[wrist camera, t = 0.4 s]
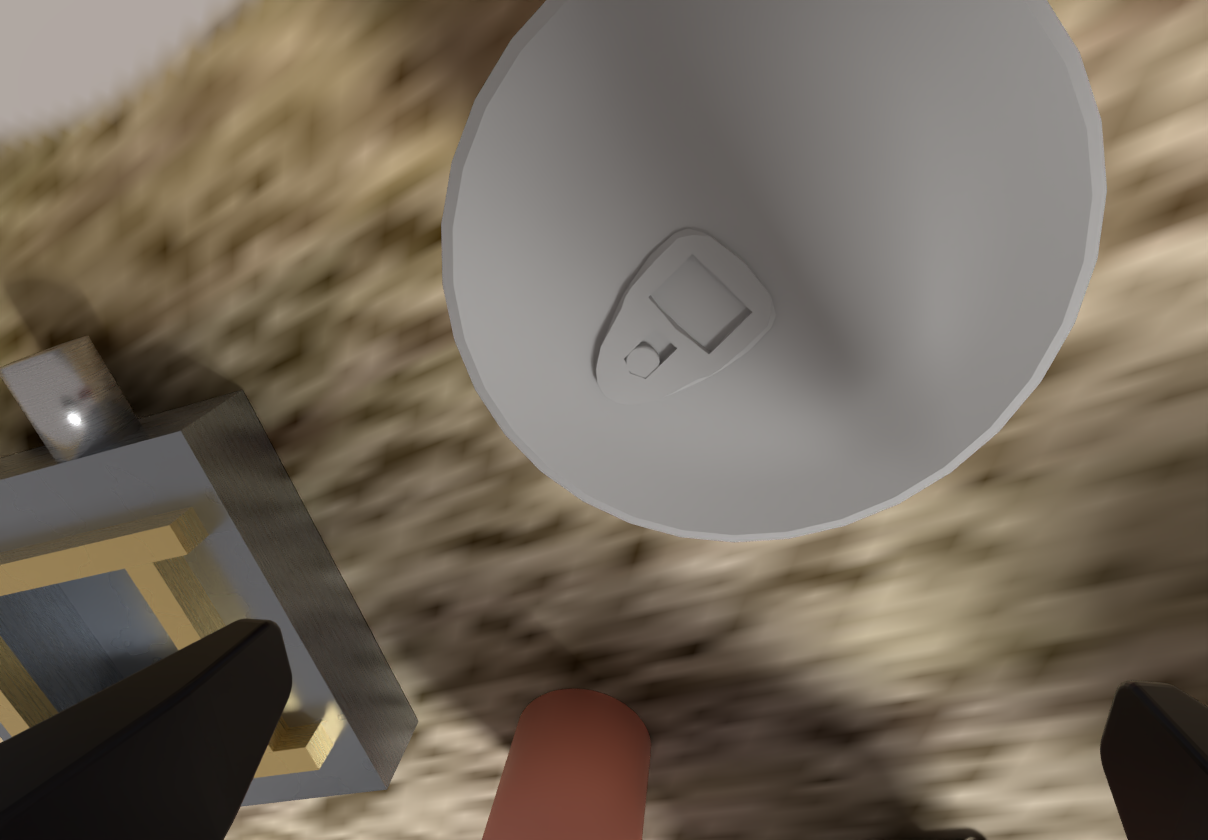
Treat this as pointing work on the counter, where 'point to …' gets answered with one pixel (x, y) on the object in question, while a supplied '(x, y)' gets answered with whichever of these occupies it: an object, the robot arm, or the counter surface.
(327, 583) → the grey and gold frame
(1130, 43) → the counter surface
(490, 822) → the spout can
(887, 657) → the counter surface
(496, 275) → the canned food
